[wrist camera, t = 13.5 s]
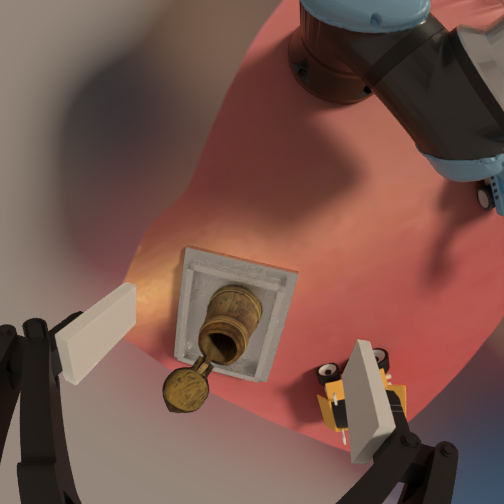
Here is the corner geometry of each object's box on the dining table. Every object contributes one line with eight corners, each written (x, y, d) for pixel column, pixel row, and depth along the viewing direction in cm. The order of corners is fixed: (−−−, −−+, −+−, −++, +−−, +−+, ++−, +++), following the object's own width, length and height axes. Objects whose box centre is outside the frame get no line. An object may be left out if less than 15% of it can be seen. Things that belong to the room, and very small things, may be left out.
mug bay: (188, 245, 48) (180, 251, 44) (298, 271, 46) (298, 279, 43) (176, 353, 54) (169, 363, 50) (267, 378, 52) (265, 390, 49)
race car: (312, 363, 51) (313, 402, 41) (391, 342, 47) (407, 377, 37) (326, 415, 54) (328, 453, 44) (395, 397, 51) (407, 433, 40)
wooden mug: (185, 328, 51) (140, 392, 33) (229, 274, 47) (192, 331, 29) (224, 358, 51) (196, 430, 34) (273, 308, 47) (260, 380, 30)
